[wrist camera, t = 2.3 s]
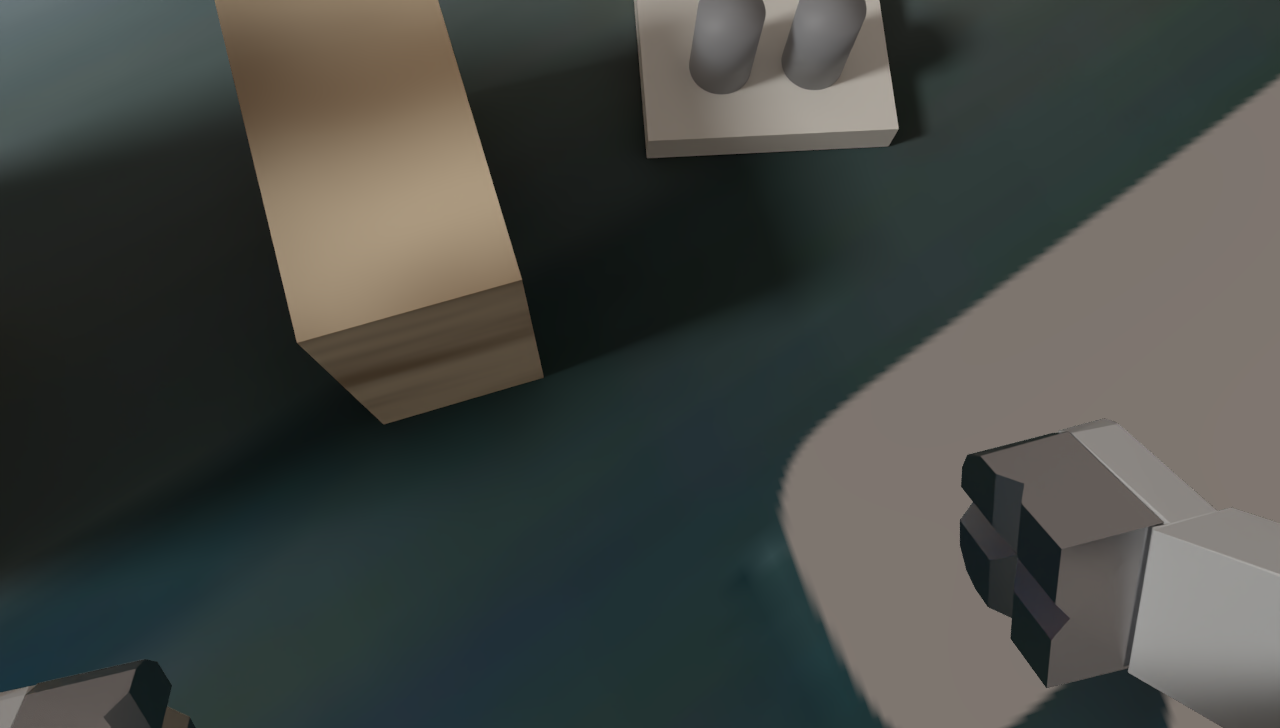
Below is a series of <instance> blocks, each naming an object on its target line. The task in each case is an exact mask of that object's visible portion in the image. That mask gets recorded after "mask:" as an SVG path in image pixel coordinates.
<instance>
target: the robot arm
mask: <svg viewBox="0 0 1280 728" xmlns="http://www.w3.org/2000/svg"><path fill="white" fill-rule="evenodd" d="M961 487H962V488H963V490H964V491H965V492H966V493H967V495H968V496H969V497H970V498H971V500H972V501H973V503H972V504H971V505H970V507H969V508H968V510H967V511H966V512H965V514H964V515H963V517H962V518H961V519H960V547H961V551H962V554H963V558H964V562H965V566H966V570H967V572H968V574H969V576H970V579H971V581H972V583H973V585H974V587H975V589H976V590H977V592H978V593H979V595H980V596H981V597H982V599H983V600H984V602H985V603H986V605H987V606H988V607H989V608H991V609H993V610H996V611H998V612H1000V613H1002V614H1004V615H1006V616H1009V617H1011V618H1012V626H1011V640H1012V641H1013V643H1014V644H1015V645H1016V647H1017V648H1018V649H1019V651H1020V652H1021V653H1022V655H1023V656H1024V658H1025V659H1026V660H1027V662H1028V663H1029V664H1030V666H1031V667H1032V669H1033V670H1034V671H1035V673H1036V674H1037V676H1038V677H1039V678H1040V680H1041V681H1042V682H1043V684H1044V685H1045V687H1046V688H1049V687H1054V686H1058V685H1062V684H1066V683H1070V682H1074V681H1078V680H1082V679H1086V678H1090V677H1094V676H1098V675H1102V674H1106V673H1110V672H1114V671H1118V670H1122V669H1127V668H1129V670H1128V673H1130V674H1132V675H1133V676H1135V677H1137V678H1139V679H1140V680H1142V681H1144V682H1145V683H1147V684H1149V685H1151V686H1152V687H1154V688H1156V689H1157V690H1159V691H1161V692H1163V693H1164V694H1166V695H1168V696H1170V697H1171V698H1173V699H1175V700H1176V701H1178V702H1180V703H1182V704H1183V705H1185V706H1187V707H1189V708H1190V709H1192V710H1194V711H1195V712H1197V713H1199V714H1201V715H1202V716H1204V717H1206V718H1207V719H1209V720H1211V721H1213V722H1214V723H1216V724H1218V725H1220V726H1221V727H1223V728H1280V523H1278V522H1275V521H1272V520H1269V519H1266V518H1263V517H1260V516H1257V515H1254V514H1251V513H1248V512H1245V511H1242V510H1239V509H1235V508H1232V507H1231V508H1227V509H1223V510H1219V511H1217V510H1216V509H1215V508H1214V507H1213V506H1212V505H1210V504H1209V503H1208V502H1207V501H1206V500H1205V499H1204V498H1203V497H1201V496H1200V495H1199V494H1198V493H1197V492H1196V491H1195V490H1193V489H1192V488H1191V487H1190V486H1189V485H1188V484H1187V483H1185V482H1184V481H1183V480H1182V479H1181V478H1180V477H1179V476H1177V475H1176V474H1175V473H1174V472H1173V471H1172V470H1171V469H1169V468H1168V467H1167V466H1166V465H1165V464H1164V463H1163V462H1162V461H1160V460H1159V459H1158V458H1157V457H1156V456H1155V455H1154V454H1152V453H1151V452H1150V451H1149V450H1148V449H1147V448H1145V447H1144V446H1143V445H1142V444H1141V443H1140V442H1139V441H1138V440H1136V439H1135V438H1134V437H1133V436H1132V435H1131V434H1130V433H1129V432H1127V431H1126V430H1125V429H1124V428H1123V427H1122V426H1121V425H1119V424H1118V423H1116V422H1114V421H1111V420H1108V419H1105V418H1104V419H1100V420H1096V421H1093V422H1089V423H1085V424H1081V425H1078V426H1074V427H1070V428H1067V429H1063V430H1059V432H1058V433H1051V434H1047V435H1043V436H1039V437H1035V438H1031V439H1028V440H1024V441H1020V442H1016V443H1012V444H1008V445H1004V446H1000V447H997V448H993V449H988V450H985V451H981V452H977V453H973V454H969V455H967V457H966V459H965V462H964V464H963V467H962V482H961ZM171 687H172V685H171V683H170V681H169V680H168V678H167V677H166V675H165V673H164V672H163V670H162V669H161V667H160V665H159V664H158V662H156V661H151V660H146V659H144V660H139V661H135V662H130V663H126V664H121V665H117V666H113V667H108V668H104V669H99V670H95V671H90V672H86V673H81V674H77V675H73V676H68V677H64V678H59V679H55V680H50V681H46V682H41V683H38V684H37V685H35V686H29V687H24V688H20V689H15V690H11V691H6V692H2V693H0V728H195V726H194V724H193V722H192V720H191V718H190V717H189V716H187V715H184V714H182V713H180V712H178V711H176V710H174V709H171V708H169V707H167V704H168V700H169V696H170V691H171Z"/></svg>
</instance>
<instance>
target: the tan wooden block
mask: <svg viewBox="0 0 1280 728" xmlns="http://www.w3.org/2000/svg"><path fill="white" fill-rule="evenodd" d="M215 4H216V8H217V12H218V16H219V20H220V25H221V29H222V33H223V37H224V41H225V45H226V49H227V54H228V58H229V62H230V66H231V70H232V74H233V79H234V83H235V87H236V91H237V95H238V99H239V104H240V108H241V112H242V116H243V120H244V124H245V129H246V133H247V137H248V141H249V145H250V149H251V154H252V158H253V162H254V166H255V170H256V174H257V179H258V183H259V187H260V191H261V195H262V199H263V204H264V208H265V212H266V216H267V220H268V224H269V229H270V233H271V237H272V241H273V245H274V249H275V253H276V258H277V262H278V266H279V270H280V274H281V278H282V283H283V287H284V291H285V295H286V299H287V303H288V308H289V312H290V316H291V320H292V324H293V328H294V333H295V337H296V341H297V343H298V344H299V345H300V346H301V347H302V348H303V349H304V350H305V351H306V352H307V353H308V354H309V355H310V356H311V357H312V358H314V359H315V360H316V361H317V362H318V363H319V364H320V365H321V366H322V367H323V368H324V369H325V370H326V371H327V372H328V373H329V374H331V375H332V376H333V377H334V378H335V379H336V380H337V381H338V382H339V383H340V384H341V385H342V386H343V387H344V388H345V389H346V390H348V391H349V392H350V393H351V394H352V395H353V396H354V397H355V398H356V399H357V400H358V401H359V402H360V403H361V404H362V405H363V406H364V407H366V408H367V409H368V410H369V411H370V412H371V413H372V414H373V415H374V416H375V417H376V418H377V419H378V420H379V421H380V422H381V423H383V424H387V423H391V422H394V421H397V420H401V419H404V418H408V417H411V416H414V415H418V414H421V413H425V412H428V411H432V410H435V409H438V408H442V407H445V406H449V405H452V404H455V403H459V402H462V401H466V400H469V399H472V398H476V397H479V396H483V395H486V394H489V393H493V392H496V391H500V390H503V389H506V388H510V387H513V386H517V385H520V384H524V383H527V382H530V381H534V380H537V379H541V378H544V376H543V371H542V367H541V362H540V358H539V353H538V349H537V344H536V340H535V335H534V331H533V327H532V322H531V318H530V313H529V309H528V304H527V300H526V295H525V291H524V286H523V282H522V278H521V275H520V271H519V268H518V265H517V261H516V258H515V255H514V251H513V248H512V245H511V241H510V238H509V235H508V231H507V228H506V225H505V221H504V218H503V215H502V212H501V208H500V205H499V202H498V198H497V195H496V192H495V188H494V185H493V182H492V178H491V175H490V172H489V168H488V165H487V162H486V158H485V155H484V152H483V148H482V145H481V142H480V138H479V135H478V132H477V128H476V125H475V122H474V119H473V115H472V112H471V109H470V105H469V102H468V99H467V95H466V92H465V89H464V85H463V82H462V79H461V75H460V72H459V69H458V65H457V62H456V59H455V55H454V52H453V49H452V45H451V42H450V39H449V36H448V32H447V29H446V26H445V22H444V19H443V16H442V12H441V9H440V6H439V2H438V0H215Z"/></svg>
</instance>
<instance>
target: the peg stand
mask: <svg viewBox="0 0 1280 728" xmlns="http://www.w3.org/2000/svg"><path fill="white" fill-rule="evenodd" d="M634 7H635V20H636V32H637V44H638V57H639V69H640V82H641V94H642V107H643V119H644V131H645V144H646V156H647V158H663V157H684V156H704V155H724V154H745V153H765V152H785V151H806V150H826V149H846V148H867V147H887V146H889V145H890V143H891V141H892V139H893V138H894V136H895V134H896V133H897V131H898V129H899V127H898V120H897V114H896V107H895V101H894V94H893V87H892V81H891V74H890V67H889V61H888V54H887V47H886V41H885V34H884V27H883V21H882V14H881V7H880V1H879V0H634Z"/></svg>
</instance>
